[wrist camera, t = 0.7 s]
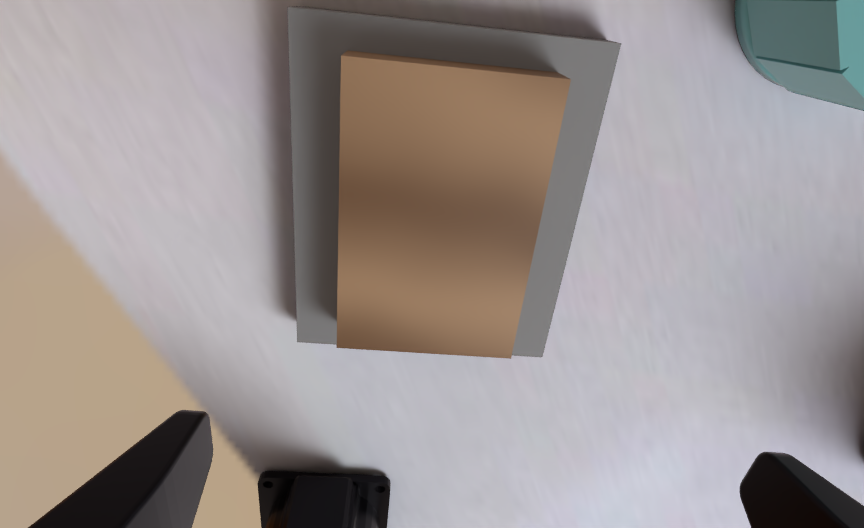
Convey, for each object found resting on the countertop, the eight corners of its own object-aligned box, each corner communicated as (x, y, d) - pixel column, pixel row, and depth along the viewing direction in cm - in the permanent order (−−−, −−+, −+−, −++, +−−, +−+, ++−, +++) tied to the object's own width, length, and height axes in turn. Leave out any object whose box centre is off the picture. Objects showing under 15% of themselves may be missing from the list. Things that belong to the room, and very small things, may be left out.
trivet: (536, 339, 22) (542, 357, 21) (303, 324, 21) (297, 342, 20) (607, 40, 16) (621, 43, 15) (295, 6, 16) (287, 7, 15)
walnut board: (504, 334, 20) (510, 358, 19) (341, 324, 20) (336, 347, 19) (557, 72, 16) (571, 79, 14) (347, 50, 15) (340, 56, 14)
